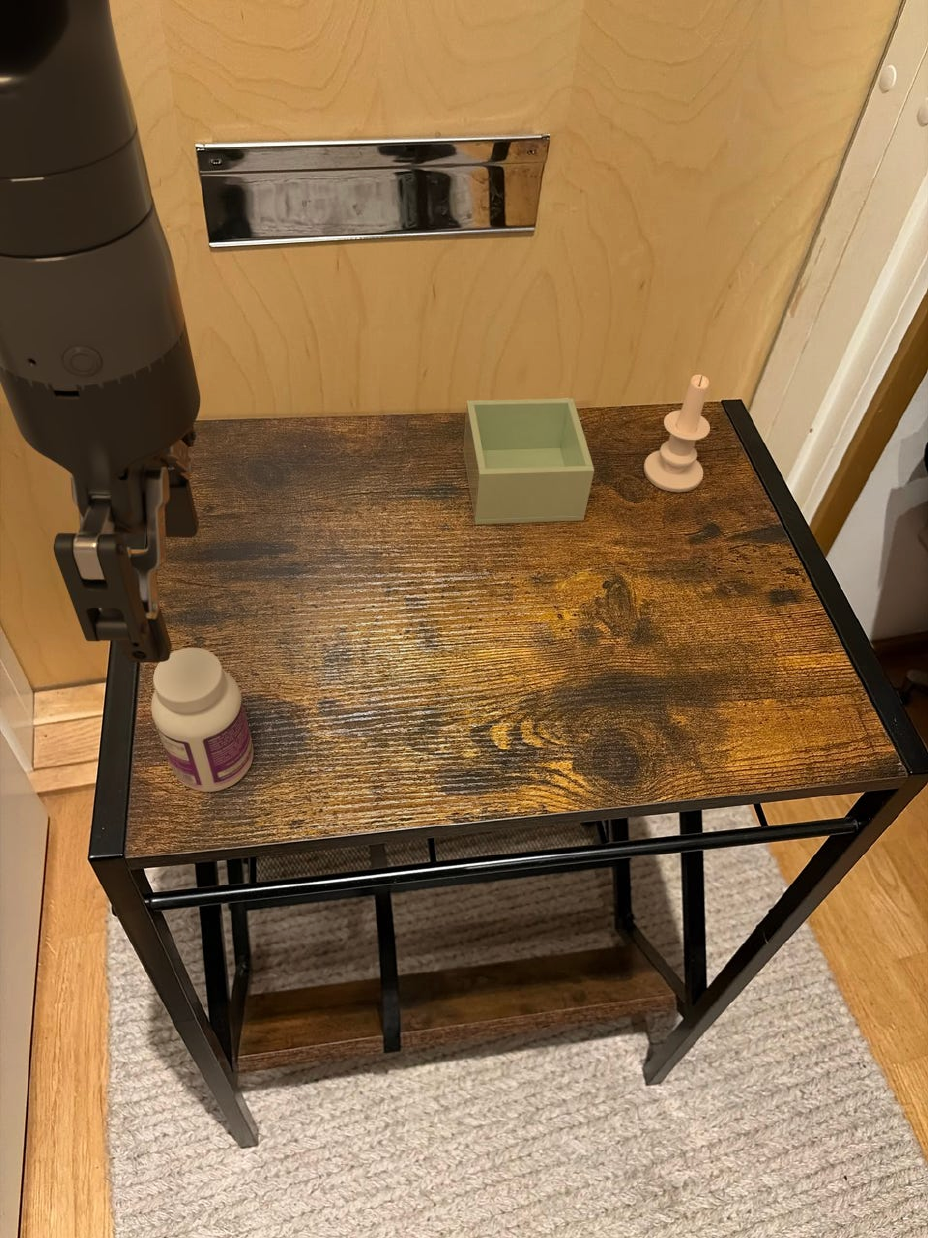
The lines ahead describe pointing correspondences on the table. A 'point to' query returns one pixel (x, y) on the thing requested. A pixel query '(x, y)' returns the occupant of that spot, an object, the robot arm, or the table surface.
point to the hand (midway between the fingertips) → (165, 591)
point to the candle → (681, 443)
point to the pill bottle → (201, 720)
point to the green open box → (526, 461)
